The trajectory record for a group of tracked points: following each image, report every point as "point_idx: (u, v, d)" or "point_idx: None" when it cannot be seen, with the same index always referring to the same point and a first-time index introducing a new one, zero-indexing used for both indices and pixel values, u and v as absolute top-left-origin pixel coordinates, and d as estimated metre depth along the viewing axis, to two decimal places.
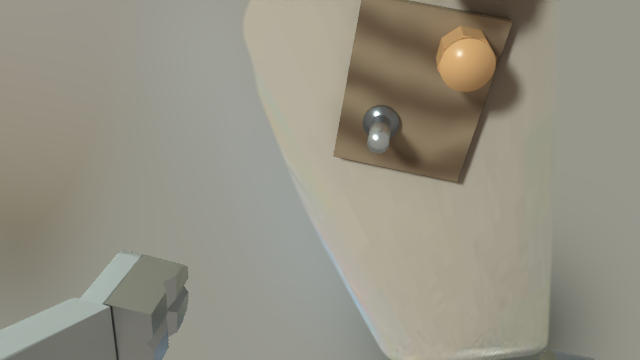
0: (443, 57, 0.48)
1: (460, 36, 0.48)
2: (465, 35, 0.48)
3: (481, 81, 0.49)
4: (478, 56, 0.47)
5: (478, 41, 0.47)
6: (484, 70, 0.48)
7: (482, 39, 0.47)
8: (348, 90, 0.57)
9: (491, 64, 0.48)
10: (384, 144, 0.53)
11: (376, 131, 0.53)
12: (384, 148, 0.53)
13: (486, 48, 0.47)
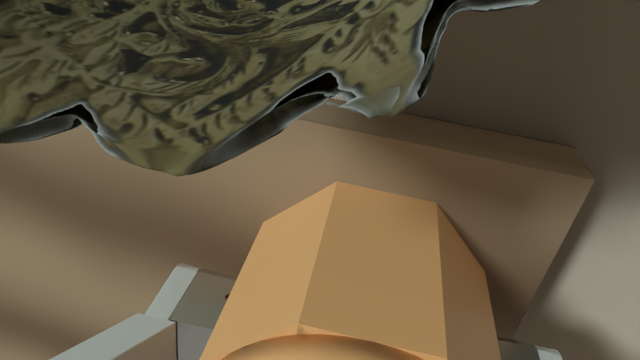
0: None
1: (287, 313, 0.08)
2: (314, 314, 0.07)
3: None
4: None
5: None
6: None
7: (422, 353, 0.07)
8: None
9: None
10: None
11: None
12: None
13: None
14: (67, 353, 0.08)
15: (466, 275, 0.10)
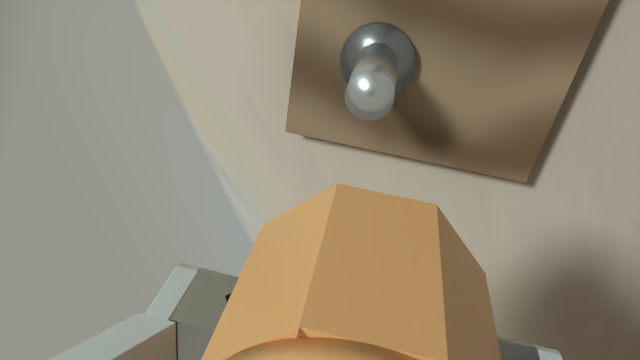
0: None
1: (288, 315, 0.08)
2: (315, 317, 0.07)
3: None
4: None
5: None
6: None
7: (423, 356, 0.07)
8: None
9: None
10: (383, 99, 0.23)
11: (366, 70, 0.23)
12: (383, 109, 0.23)
13: None
14: (67, 354, 0.08)
15: (466, 277, 0.10)
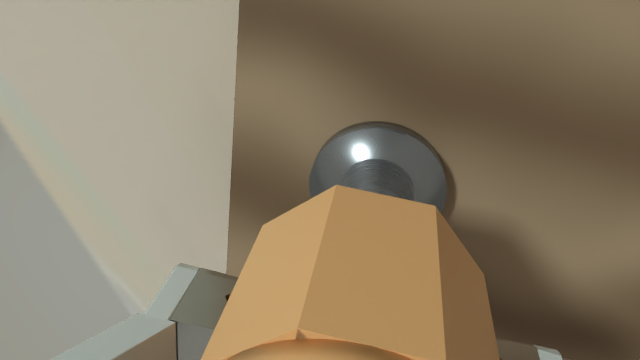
0: None
1: (287, 317, 0.08)
2: (314, 319, 0.07)
3: None
4: None
5: None
6: None
7: (422, 357, 0.07)
8: (248, 64, 0.14)
9: None
10: None
11: None
12: None
13: None
14: (67, 354, 0.08)
15: (465, 278, 0.10)
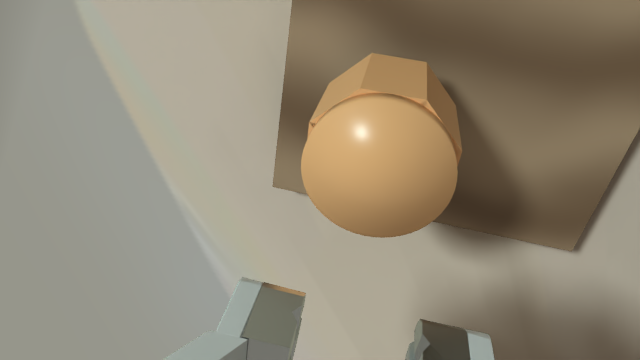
0: (307, 150, 0.17)
1: (353, 89, 0.16)
2: (367, 87, 0.16)
3: (420, 214, 0.17)
4: (404, 150, 0.16)
5: (400, 108, 0.15)
6: (426, 186, 0.16)
7: (416, 99, 0.16)
8: (299, 15, 0.21)
9: (445, 171, 0.16)
10: None
11: None
12: None
13: (426, 128, 0.15)
14: None
15: (442, 95, 0.19)
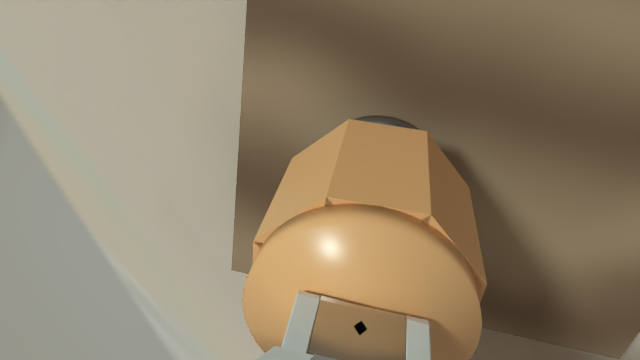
0: (249, 287, 0.11)
1: (317, 194, 0.11)
2: (337, 192, 0.10)
3: None
4: (398, 291, 0.10)
5: (389, 235, 0.09)
6: (434, 340, 0.11)
7: (414, 212, 0.10)
8: (255, 61, 0.15)
9: (463, 322, 0.10)
10: None
11: None
12: None
13: (432, 263, 0.10)
14: None
15: (451, 181, 0.13)
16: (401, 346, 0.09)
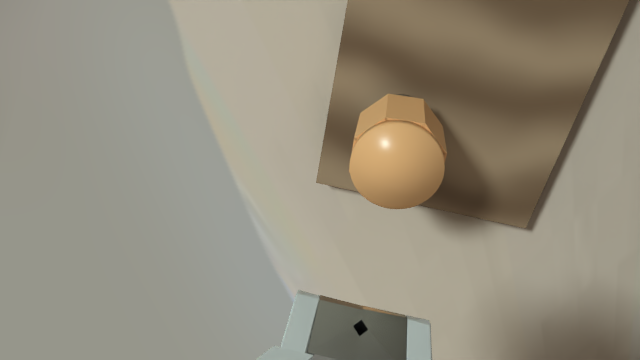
0: (353, 155, 0.27)
1: (381, 118, 0.27)
2: (389, 116, 0.27)
3: (423, 192, 0.28)
4: (413, 153, 0.27)
5: (410, 128, 0.26)
6: (426, 175, 0.27)
7: (418, 123, 0.27)
8: (341, 67, 0.32)
9: (437, 165, 0.27)
10: None
11: None
12: None
13: (425, 139, 0.26)
14: None
15: (434, 119, 0.30)
16: (402, 346, 0.09)
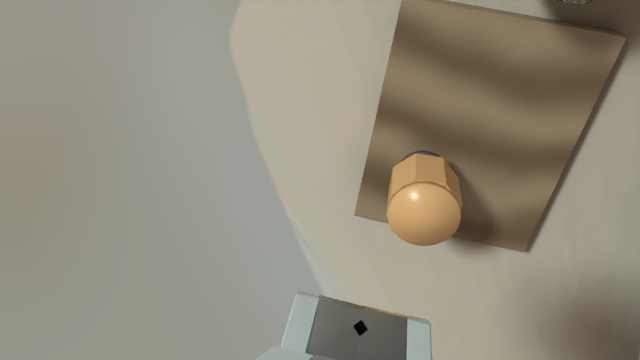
0: (391, 206, 0.36)
1: (412, 178, 0.36)
2: (418, 178, 0.36)
3: (444, 234, 0.37)
4: (436, 206, 0.35)
5: (435, 189, 0.35)
6: (446, 222, 0.36)
7: (441, 183, 0.35)
8: (378, 130, 0.41)
9: (455, 215, 0.36)
10: None
11: None
12: None
13: (446, 197, 0.35)
14: None
15: (451, 175, 0.38)
16: (402, 346, 0.09)
